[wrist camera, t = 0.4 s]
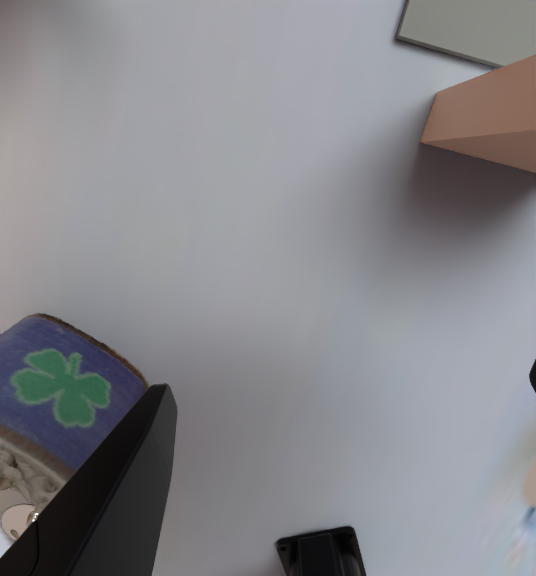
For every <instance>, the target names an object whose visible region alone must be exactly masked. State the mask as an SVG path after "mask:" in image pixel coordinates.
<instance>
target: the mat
mask: <svg viewBox="0 0 536 576" xmlns="http://www.w3.org/2000/svg"><path fill="white" fill-rule="evenodd" d="M396 39H399V40H402V41H406V42H409V43H413V44H416V45H420V46H423V47H427V48H430V49H434V50H437V51H441V52H444V53H447V54H451V55H454V56H458V57H461V58H465V59H468V60H472V61H475V62H479V63H482V64H486V65H489V66H493V67H496V68H501V67H504V66H507V65H509V64H512V63H514V62H517V61H520V60H522V59H525V58H527V57H530V56H533V55H535V54H536V0H407V2H406V6H405V9H404V12H403V15H402V19H401V22H400V25H399V29H398V32H397V35H396Z"/></svg>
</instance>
